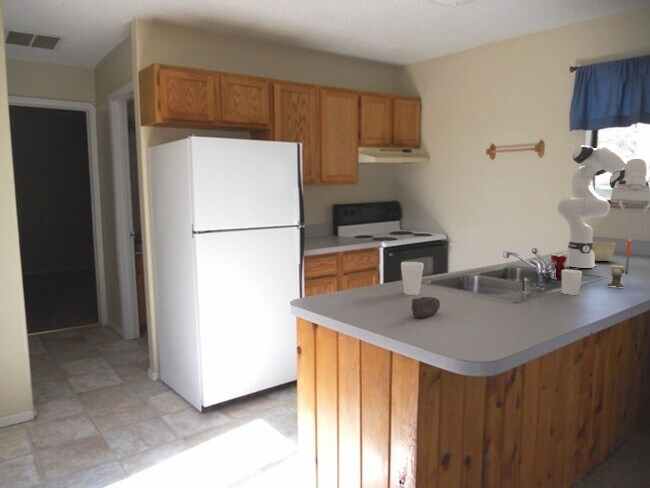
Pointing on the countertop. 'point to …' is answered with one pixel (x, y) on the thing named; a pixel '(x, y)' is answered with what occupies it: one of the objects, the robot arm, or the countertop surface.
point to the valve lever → (627, 255)
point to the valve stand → (616, 276)
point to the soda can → (559, 264)
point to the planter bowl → (603, 250)
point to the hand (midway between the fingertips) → (634, 210)
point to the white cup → (571, 281)
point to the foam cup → (412, 277)
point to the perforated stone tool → (425, 306)
